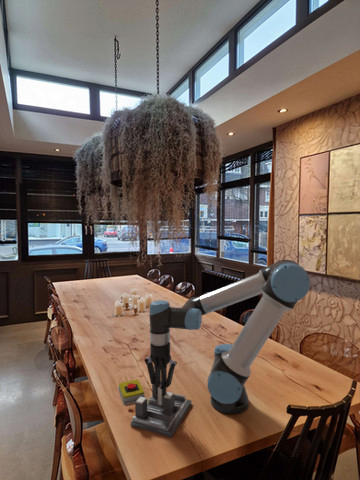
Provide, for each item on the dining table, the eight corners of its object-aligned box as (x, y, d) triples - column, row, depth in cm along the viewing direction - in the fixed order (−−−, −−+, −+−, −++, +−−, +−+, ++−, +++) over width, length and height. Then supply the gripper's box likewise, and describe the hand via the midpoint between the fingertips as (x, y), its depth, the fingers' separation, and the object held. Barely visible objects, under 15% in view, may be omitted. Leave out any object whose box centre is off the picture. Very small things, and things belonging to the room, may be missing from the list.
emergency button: (123, 396, 115) (117, 378, 129) (123, 406, 115) (117, 387, 129) (145, 390, 119) (137, 374, 133) (146, 401, 119) (137, 383, 133)
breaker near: (147, 415, 107) (147, 397, 106) (142, 421, 103) (142, 403, 103) (140, 413, 108) (140, 395, 108) (135, 419, 104) (135, 401, 104)
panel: (191, 404, 116) (191, 396, 116) (171, 437, 97) (171, 428, 97) (156, 395, 122) (156, 388, 122) (130, 425, 103) (130, 417, 103)
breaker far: (162, 396, 119) (162, 380, 118) (158, 400, 115) (158, 384, 115) (156, 394, 120) (156, 379, 120) (152, 399, 116) (152, 383, 116)
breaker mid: (174, 409, 110) (174, 392, 109) (170, 415, 106) (170, 398, 106) (167, 407, 111) (167, 391, 110) (163, 413, 107) (163, 396, 107)
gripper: (179, 340, 110) (180, 401, 111) (149, 336, 115) (151, 394, 116) (171, 348, 103) (173, 412, 104) (140, 343, 108) (141, 404, 109)
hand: (161, 402), depth 110 cm, fingers closed
